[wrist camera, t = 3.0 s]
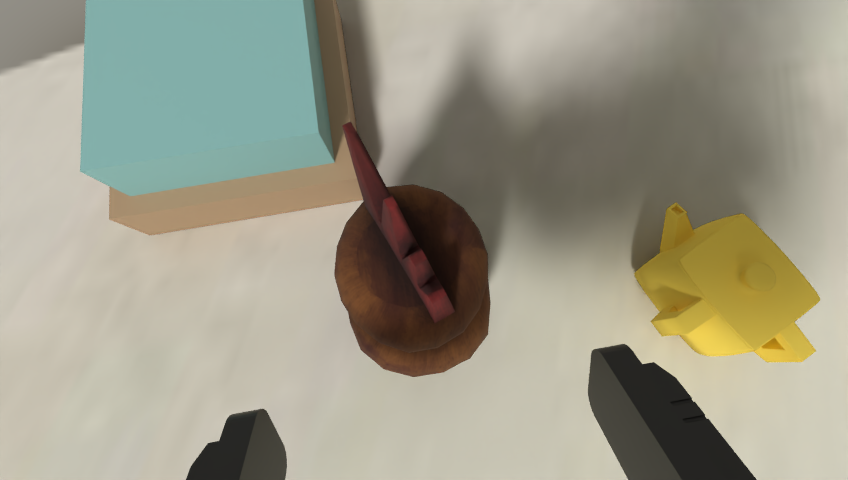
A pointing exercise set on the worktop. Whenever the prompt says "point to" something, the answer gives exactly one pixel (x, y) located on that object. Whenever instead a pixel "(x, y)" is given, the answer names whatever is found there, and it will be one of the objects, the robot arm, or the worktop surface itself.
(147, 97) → the tower base
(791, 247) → the worktop surface
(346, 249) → the wooden figurine
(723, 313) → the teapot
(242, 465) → the robot arm
